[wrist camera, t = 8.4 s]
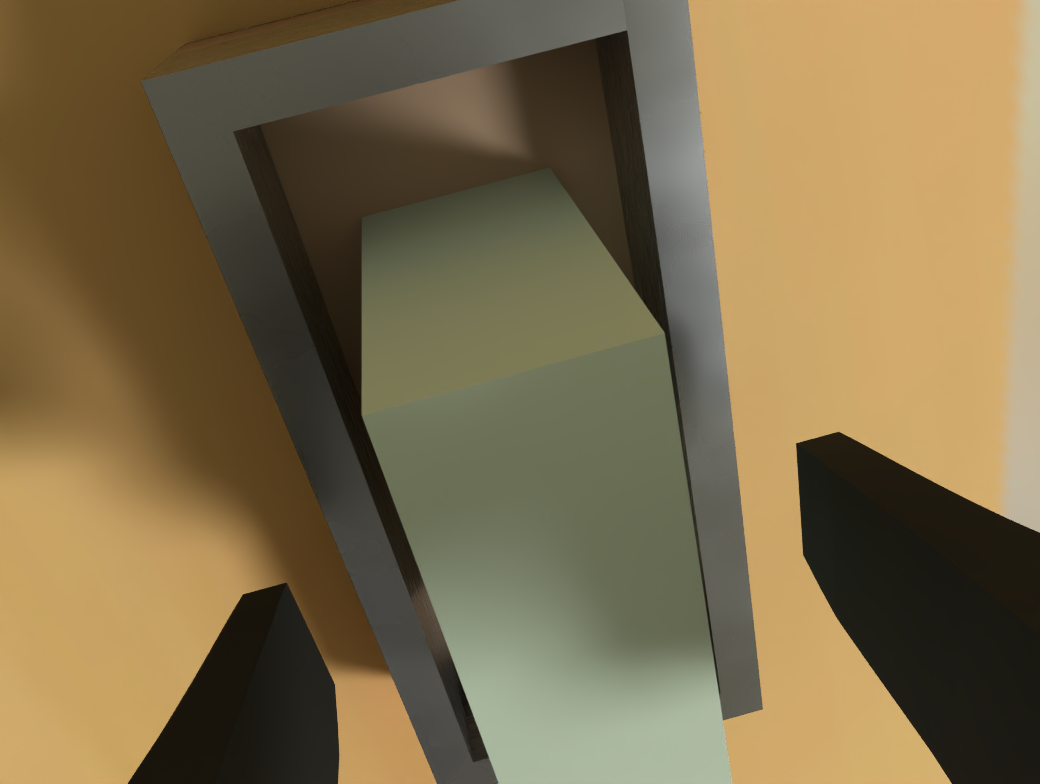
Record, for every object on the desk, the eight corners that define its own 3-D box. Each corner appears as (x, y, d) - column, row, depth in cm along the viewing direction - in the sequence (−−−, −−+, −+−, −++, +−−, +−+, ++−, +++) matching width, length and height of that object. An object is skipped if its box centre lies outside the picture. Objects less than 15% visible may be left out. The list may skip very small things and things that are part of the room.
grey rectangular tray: (711, 605, 20) (762, 708, 18) (432, 682, 20) (443, 798, 17) (618, -66, 13) (681, -56, 10) (184, 43, 13) (141, 81, 10)
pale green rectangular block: (628, 551, 18) (738, 821, 13) (483, 591, 18) (534, 879, 12) (549, 167, 14) (664, 333, 8) (361, 217, 14) (362, 415, 8)
